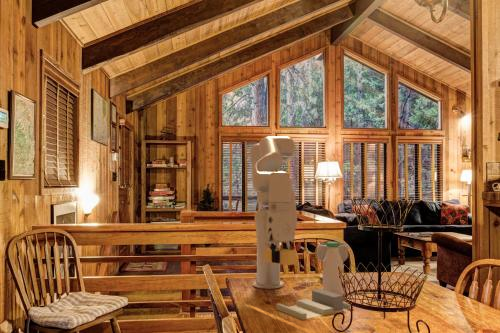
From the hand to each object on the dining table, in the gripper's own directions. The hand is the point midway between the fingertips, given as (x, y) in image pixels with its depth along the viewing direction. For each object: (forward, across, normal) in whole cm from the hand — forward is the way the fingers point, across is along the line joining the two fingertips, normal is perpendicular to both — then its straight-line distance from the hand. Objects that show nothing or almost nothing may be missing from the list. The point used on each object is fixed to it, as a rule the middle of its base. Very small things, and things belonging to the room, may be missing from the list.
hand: (280, 261), depth 160 cm
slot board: (+16, +5, -11) cm, 20 cm away
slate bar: (+15, +10, -12) cm, 22 cm away
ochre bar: (0, 0, 0) cm, 1 cm away
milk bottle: (+16, +27, -3) cm, 31 cm away
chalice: (+15, +54, +16) cm, 58 cm away
